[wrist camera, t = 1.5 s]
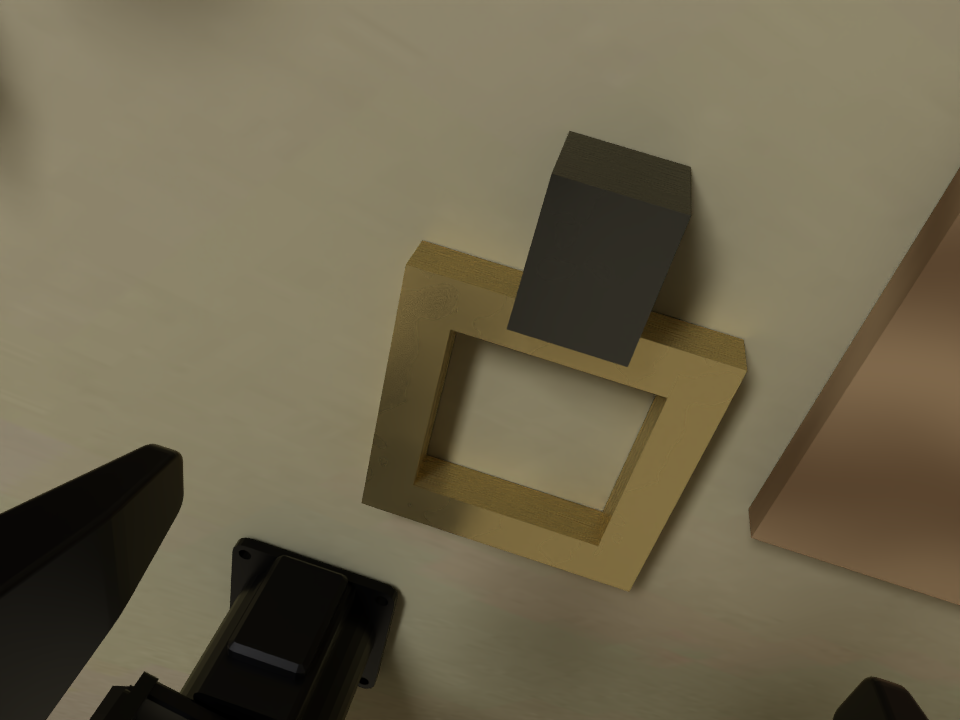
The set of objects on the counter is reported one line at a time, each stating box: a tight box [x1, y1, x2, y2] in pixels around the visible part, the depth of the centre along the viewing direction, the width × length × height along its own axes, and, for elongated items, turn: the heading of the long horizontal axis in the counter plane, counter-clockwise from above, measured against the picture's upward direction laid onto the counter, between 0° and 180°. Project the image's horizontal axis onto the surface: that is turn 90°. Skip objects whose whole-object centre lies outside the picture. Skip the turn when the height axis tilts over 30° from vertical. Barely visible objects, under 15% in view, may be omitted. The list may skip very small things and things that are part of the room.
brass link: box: [362, 131, 747, 592], centre depth 21 cm, size 13×9×3 cm
